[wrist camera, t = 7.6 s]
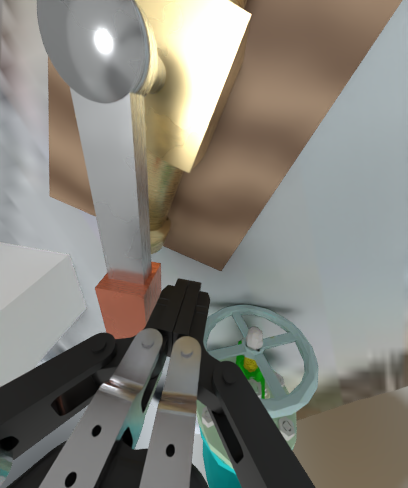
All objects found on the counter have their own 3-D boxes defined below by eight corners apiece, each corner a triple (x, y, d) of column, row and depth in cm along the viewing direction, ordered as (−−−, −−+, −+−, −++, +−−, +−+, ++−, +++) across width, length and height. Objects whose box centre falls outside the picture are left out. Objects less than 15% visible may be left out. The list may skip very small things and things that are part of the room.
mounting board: (71, -463, 8) (41, -573, 7) (473, -123, 11) (506, -156, 9) (59, 192, 24) (49, 196, 22) (221, 264, 26) (221, 271, 25)
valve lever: (163, 2, 6) (123, -69, 4) (163, 314, 15) (151, 350, 13) (76, -7, 7) (-10, -79, 4) (126, 307, 15) (106, 342, 13)
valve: (188, 529, 28) (176, 410, 15) (204, 392, 44) (204, 280, 31) (292, 553, 26) (374, 442, 14) (269, 401, 42) (297, 287, 30)
